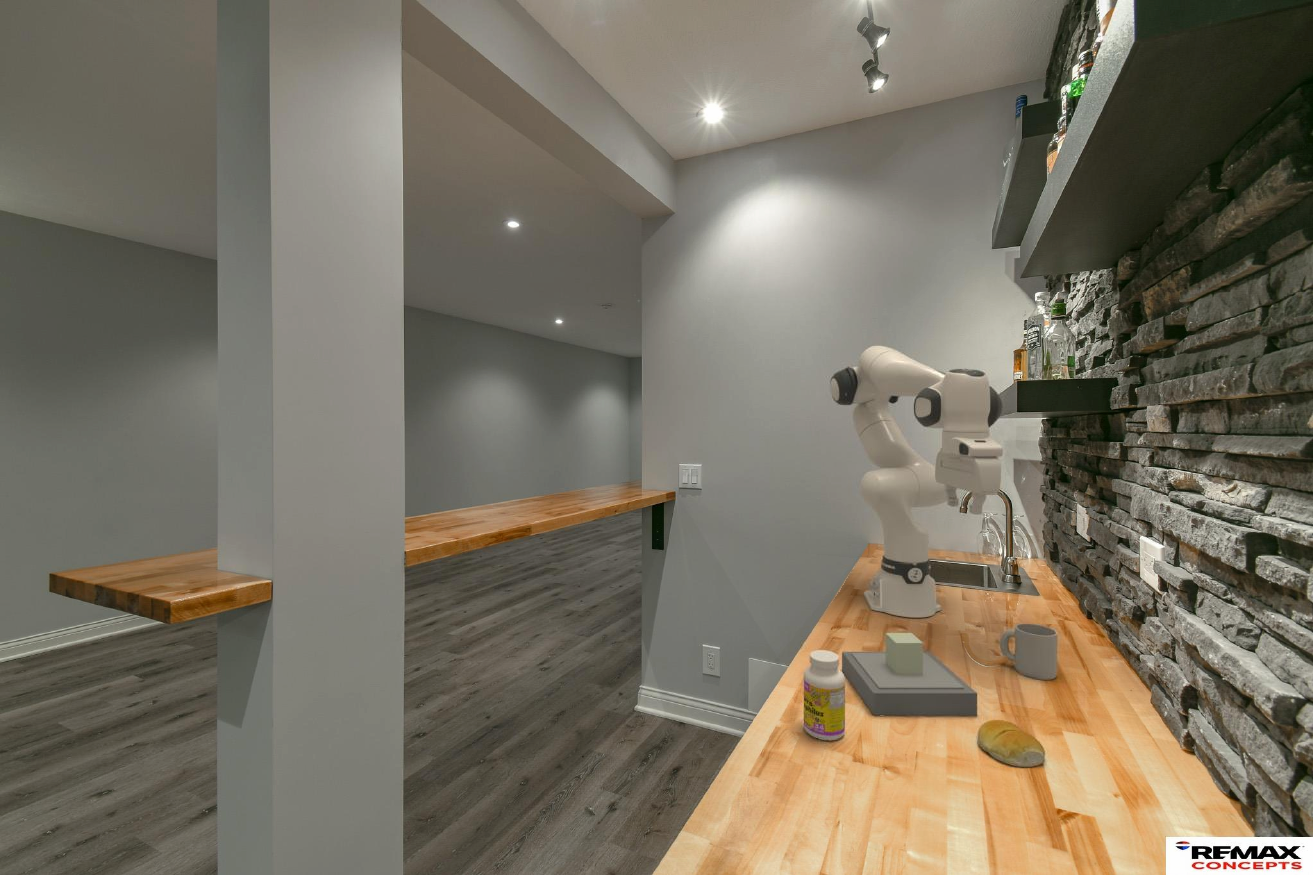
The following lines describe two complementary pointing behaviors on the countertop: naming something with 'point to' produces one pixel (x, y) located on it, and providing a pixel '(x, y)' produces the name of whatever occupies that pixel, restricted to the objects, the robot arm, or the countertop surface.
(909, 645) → the sage block
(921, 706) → the tray
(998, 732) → the bread roll
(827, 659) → the supplement bottle
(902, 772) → the countertop surface
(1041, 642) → the cup
